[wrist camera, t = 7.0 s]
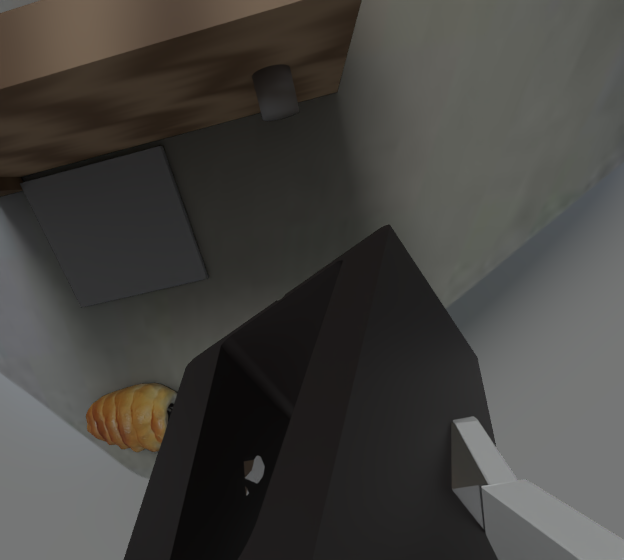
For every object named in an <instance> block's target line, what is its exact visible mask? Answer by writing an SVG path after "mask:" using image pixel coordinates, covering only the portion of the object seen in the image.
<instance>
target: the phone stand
mask: <svg viewBox="0 0 624 560" xmlns="http://www.w3.org/2000/svg"><path fill="white" fill-rule="evenodd" d="M472 416H474V417H475V418H477V419H478V421H479V422H480V424H481V425H482V427H483V428H484V430H485V431H486V433H487V434H488V436H489V437H490V439H491V440H492V442H493V443H494V445H495V446H496V443H495V439H494V434H493V429H492V424H491V420H490V415H489V410H488V406H487V401H486V396H485V392H484V387H483V383H482V377H481V373H480V368H479V364H478V358H477V356H476V355H475V353H474V352H473V350H472V349H471V347H470V346H469V344H468V343H467V341H466V340H465V338H464V336H463V335H462V333H461V332H460V331H459V329H458V328H457V326H456V325H455V323H454V321H453V320H452V318H451V317H450V315H449V314H448V312H447V311H446V309H445V308H444V306H443V305H442V303H441V302H440V300H439V299H438V297H437V296H436V294H435V292H434V291H433V289H432V288H431V286H430V285H429V283H428V282H427V280H426V279H425V277H424V276H423V274H422V273H421V271H420V270H419V268H418V267H417V265H416V264H415V262H414V261H413V259H412V258H411V256H410V255H409V253H408V252H407V250H406V248H405V247H404V245H403V244H402V242H401V241H400V239H399V238H398V236H397V235H396V233H395V232H394V230H393V229H392V227H391V226H390V225H386V226H383V227H381V228H380V229H378V230H377V231H375V232H374V233H373V234H371V235H370V236H368V237H367V238H365V239H364V240H363V241H361V242H360V243H358V244H357V245H355V246H354V247H353V248H351V249H350V250H348V251H347V252H345V253H344V254H343V255H341V256H340V257H338V258H337V259H335V260H334V261H333V262H331V263H330V264H328V265H327V266H325V267H324V268H323V269H321V270H320V271H318V272H317V273H315V274H314V275H313V276H311V277H310V278H308V279H307V280H305V281H304V282H303V283H301V284H300V285H298V286H297V287H295V288H294V289H293V290H291V291H290V292H288V293H287V294H285V296H284V297H283V298H282V299H280V300H279V301H275V302H274V303H273V304H271V305H270V306H268V307H267V308H265V309H264V310H262V311H261V312H260V313H258V314H257V315H255V316H254V317H252V318H251V319H250V320H248V321H247V322H245V323H244V324H242V325H241V326H240V327H238V328H237V329H235V330H234V331H232V332H231V333H230V334H228V335H227V336H225V337H224V338H222V339H221V340H220V341H218V342H217V343H215V344H214V345H212V346H211V347H210V348H208V349H207V350H205V351H204V352H202V353H201V354H200V355H198V356H197V357H195V358H194V359H193V360H192V361H191V362H190V363H189V364H188V365H187V367H186V368H185V372H184V375H183V378H182V381H181V384H180V387H179V390H178V393H177V396H176V399H175V403H174V406H173V409H172V412H171V415H170V418H169V421H168V424H167V427H166V430H165V433H164V437H163V440H162V443H161V446H160V449H159V452H158V455H157V458H156V461H155V464H154V467H153V471H152V474H151V477H150V480H149V483H148V486H147V489H146V492H145V495H144V498H143V502H142V505H141V508H140V511H139V514H138V517H137V520H136V523H135V526H134V530H133V532H132V536H131V539H130V542H129V545H128V548H127V551H126V554H125V557H124V560H498V558H497V556H496V554H495V552H494V550H493V548H492V546H491V544H490V542H489V540H488V538H487V536H486V532H485V530H484V529H483V528H482V527H481V525H480V524H479V523H478V522H477V520H476V519H475V518H474V517H473V515H472V514H471V513H470V512H469V510H468V509H467V508H466V507H465V505H464V504H463V503H462V501H461V500H460V499H459V498H458V496H457V495H456V494H455V493H454V491H453V490H452V466H451V423H452V422H453V420H456V419H461V418H467V417H472ZM250 456H261V459H262V461H263V464H264V466H265V467H264V473H263V477H262V478H261V480H260V481H259V482H258V483H255V482H253V481H250V480H248V479H246V478H245V473H244V460H245V458H246V457H250ZM245 486H246V487H245ZM246 488H247V489H248V492H249V494H248V495H247V496H246Z"/></svg>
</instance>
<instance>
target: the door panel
mask: <svg viewBox="0 0 624 560" xmlns="http://www.w3.org/2000/svg"><path fill="white" fill-rule="evenodd" d="M360 4H361V0H41V1H38V2H34V3H31V4H28V5H25V6H22V7H19V8H15V9H12V10H9V11H6V12H3V13H0V197H1V196H5V195H8V194H12V193H16V192H20V191H23V189H22V187H21V185H20V183H23V180H22V178H21V177H23V176H27V175H30V174H34V173H38V172H41V171H45V170H49V169H53V168H56V167H60V166H64V165H67V164H71V163H75V162H79V161H82V160H86V159H90V158H94V157H97V156H101V155H105V154H108V153H112V152H116V151H120V150H123V149H127V148H131V147H134V146H138V145H142V144H146V143H149V142H153V141H157V140H161V139H164V138H168V137H172V136H175V135H179V134H183V133H187V132H190V131H194V130H198V129H201V128H205V127H209V126H213V125H216V124H220V123H224V122H228V121H231V120H235V119H239V118H242V117H246V116H250V115H254V114H257V113H261V114H262V118H263V120H264V121H273V120H279V119H283V118H286V117H289V116H292V115H294V114H296V113H298V112H299V111H300V110H299V106H298V102H302V101H306V100H309V99H313V98H317V97H321V96H324V95H328V94H332V93H335V92H337V91H338V87H339V83H340V80H341V76H342V72H343V68H344V65H345V61H346V57H347V53H348V49H349V46H350V42H351V38H352V34H353V31H354V27H355V23H356V19H357V16H358V12H359V8H360Z"/></svg>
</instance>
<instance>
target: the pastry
mask: <svg viewBox="0 0 624 560" xmlns="http://www.w3.org/2000/svg"><path fill="white" fill-rule="evenodd" d="M176 396H177V392H175V391H174V390H172V389H170V388H168V387H167V386H164V385H162V384H158V383H150V384H144V383H142V384H139V385H134V386H131V387H127V388H124V389H121V390H118V391H115V392H112V393H109V394H107V395H104V396H102V397H101V398H100V399H98V400H97V401H96V402H94V403H93V404H92V405H91V407H90V408H89V410H88V412H87V414H86V419H87V423H88V425H87V430H88V432H90V433H91V434H92V435H93V436H95V437H96V438H97V439H100V440H103V441H106V442H107V443H108V444H109V445H114V444H116V445H118V446H119V447H120V448H121V449H127V448H131V449H132V450H133V451H135V452H140V451H142V450H144V449H145V448H146V449H148V450H150V451H152V452H156V451H159V449H160V446H161V443H162V440H163V437H164V433H165V430H166V427H167V424H168V421H169V418H170V415H171V412H172V409H173V406H174V403H175V399H176Z"/></svg>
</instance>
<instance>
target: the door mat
mask: <svg viewBox="0 0 624 560" xmlns="http://www.w3.org/2000/svg"><path fill="white" fill-rule="evenodd" d="M20 185H21V187H22V189H23V191H24V193H25V195H26V197H27V199H28V201H29V203H30V206H31V208H32V210H33V212H34V214H35V216H36V218H37V220H38V222H39V224H40V226H41V228H42V230H43V232H44V234H45V236H46V238H47V240H48V242H49V244H50V246H51V248H52V250H53V252H54V254H55V256H56V258H57V260H58V262H59V264H60V266H61V268H62V270H63V272H64V274H65V276H66V278H67V280H68V282H69V284H70V286H71V288H72V290H73V292H74V294H75V296H76V298H77V300H78V302H79V304H80V306H81V308H82V307H86V306H91V305H95V304H99V303H104V302H108V301H112V300H117V299H121V298H125V297H130V296H134V295H139V294H143V293H147V292H152V291H156V290H160V289H165V288H169V287H173V286H178V285H182V284H187V283H191V282H195V281H200V280H204V279H208V278H209V276H208V273H207V271H206V268H205V265H204V262H203V259H202V256H201V254H200V251H199V248H198V245H197V242H196V239H195V237H194V234H193V231H192V228H191V225H190V222H189V220H188V217H187V214H186V211H185V208H184V205H183V203H182V200H181V197H180V194H179V191H178V188H177V186H176V183H175V180H174V177H173V174H172V171H171V168H170V166H169V163H168V160H167V157H166V154H165V151H164V149H163V146H158V147H154V148H150V149H147V150H143V151H139V152H135V153H132V154H128V155H124V156H120V157H117V158H113V159H109V160H106V161H102V162H98V163H94V164H91V165H87V166H83V167H79V168H76V169H72V170H68V171H64V172H61V173H57V174H53V175H49V176H46V177H42V178H38V179H34V180H31V181H27V182H23V183H20Z"/></svg>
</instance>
